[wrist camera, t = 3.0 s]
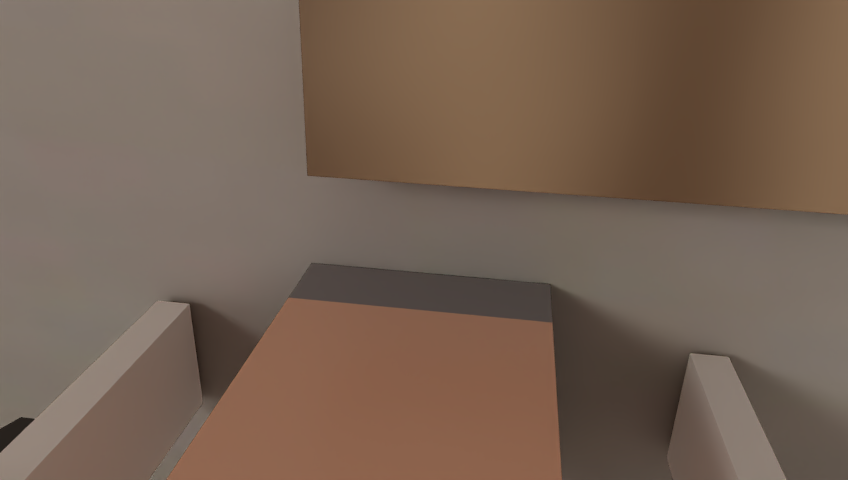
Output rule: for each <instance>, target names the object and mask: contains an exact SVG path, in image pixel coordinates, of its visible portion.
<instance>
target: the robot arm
mask: <svg viewBox="0 0 848 480" xmlns="http://www.w3.org/2000/svg"><path fill="white" fill-rule="evenodd" d="M202 403H203V399H202V391H201V384H200V377H199V370H198V362H197V355H196V348H195V340H194V333H193V326H192V319H191V311H190V304H187V303H177V302H167V301H157V302H156V303H155V304H154V305H153V306H152V307H150V308H149V309H148V310H147V311H146V312H145V313H144V314H143V315H142V316H141V317H140V318H139V319H138V320H137V321H136V322H135V323H134V324H133V325H132V326H131V327H130V328H129V329H128V330H127V331H126V332H125V333H124V334H123V335H122V336H121V337H119V338H118V339H117V340H116V341H115V342H114V343H113V344H112V345H111V346H110V347H109V348H108V349H107V350H106V351H105V352H104V353H103V354H102V355H101V356H100V357H99V358H98V359H97V360H96V361H95V362H94V363H93V364H92V365H91V366H89V367H88V368H87V369H86V370H85V371H84V372H83V373H82V374H81V375H80V376H79V377H78V378H77V379H76V380H75V381H74V382H73V383H72V384H71V385H70V386H69V387H68V388H67V389H66V390H65V391H64V392H63V393H62V394H61V395H60V396H58V397H57V398H56V399H55V400H54V401H53V402H52V403H51V404H50V405H49V406H48V407H47V408H46V409H45V410H44V411H43V412H42V413H41V414H40V415H39V416H38V417H37V418H36V419H31V418H23V417H21V418H19V419H17V420H15V421H14V422H12V423H10V424H8V425H6V426H5V427H3V428H1V429H0V480H149V478H150V477H151V475H152V474H153V473H154V471H155V470H156V468H157V467H158V465H159V464H160V463H161V461H162V460H163V458H164V457H165V456H166V454H167V453H168V451H169V450H170V449H171V447H172V446H173V444H174V443H175V441H176V440H177V439H178V437H179V436H180V434H181V433H182V432H183V430H184V429H185V427H186V426H187V425H188V423H189V422H190V420H191V419H192V417H193V416H194V415H195V413H196V412H197V410H198V409H199V408H200V406H201V405H202ZM667 460H668V464H669V467H670V471H671V475H672V479H673V480H787V479H786V477H785V475H784V473H783V471H782V469H781V467H780V464H779V462H778V460H777V458H776V456H775V454H774V452H773V450H772V448H771V445H770V443H769V441H768V439H767V437H766V435H765V433H764V431H763V428H762V426H761V424H760V422H759V420H758V418H757V416H756V414H755V412H754V409H753V407H752V405H751V403H750V401H749V399H748V397H747V395H746V392H745V390H744V388H743V386H742V384H741V382H740V380H739V378H738V375H737V373H736V371H735V369H734V367H733V365H732V363H731V361H730V359H729V357H725V356H715V355H705V354H694V353H690V355H689V360H688V364H687V368H686V373H685V377H684V382H683V386H682V391H681V395H680V400H679V404H678V409H677V413H676V418H675V422H674V427H673V431H672V436H671V440H670V445H669V449H668V453H667Z"/></svg>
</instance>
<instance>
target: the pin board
mask: <svg viewBox="0 0 848 480" xmlns="http://www.w3.org/2000/svg"><path fill="white" fill-rule="evenodd" d="M299 13H300V33H301V53H302V73H303V94H304V114H305V134H306V155H307V175H308V176H320V177H333V178H347V179H361V180H375V181H389V182H403V183H417V184H431V185H444V186H458V187H472V188H486V189H500V190H514V191H528V192H542V193H556V194H569V195H583V196H597V197H611V198H625V199H639V200H653V201H667V202H680V203H694V204H708V205H722V206H736V207H750V208H764V209H778V210H791V211H805V212H819V213H833V214H847V215H848V0H299Z"/></svg>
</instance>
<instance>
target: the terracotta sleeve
mask: <svg viewBox="0 0 848 480" xmlns="http://www.w3.org/2000/svg"><path fill="white" fill-rule="evenodd" d="M166 480H562V472H561V456H560V439H559V423H558V406H557V390H556V373H555V356H554V340H553V323H552V307H551V290H550V284H540V283H529V282H518V281H506V280H495V279H484V278H472V277H461V276H449V275H438V274H427V273H415V272H404V271H393V270H381V269H370V268H359V267H347V266H336V265H325V264H313V263H311V265H310V266H309V268H308V269H307V271H306V272H305V274H304V275H303V277H302V278H301V280H300V281H299V283H298V284H297V286H296V287H295V289H294V290H293V292H292V293H291V295H290V296H289V298H288V299H287V301H286V302H285V303H284V305H283V306H282V308H281V309H280V311H279V312H278V314H277V315H276V317H275V318H274V320H273V321H272V323H271V324H270V326H269V327H268V329H267V330H266V332H265V333H264V335H263V336H262V338H261V339H260V341H259V342H258V344H257V345H256V347H255V348H254V350H253V351H252V353H251V354H250V356H249V357H248V359H247V360H246V362H245V363H244V365H243V366H242V368H241V369H240V371H239V372H238V374H237V375H236V376H235V378H234V379H233V381H232V382H231V384H230V385H229V387H228V388H227V390H226V391H225V393H224V394H223V396H222V397H221V399H220V400H219V402H218V403H217V405H216V406H215V408H214V409H213V411H212V412H211V414H210V415H209V417H208V418H207V420H206V421H205V423H204V424H203V426H202V427H201V429H200V430H199V432H198V433H197V435H196V436H195V438H194V439H193V441H192V442H191V444H190V445H189V447H188V448H187V450H186V451H185V452H184V454H183V455H182V457H181V458H180V460H179V461H178V463H177V464H176V466H175V467H174V469H173V470H172V472H171V473H170V475H169V476H168V478H167V479H166Z"/></svg>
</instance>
